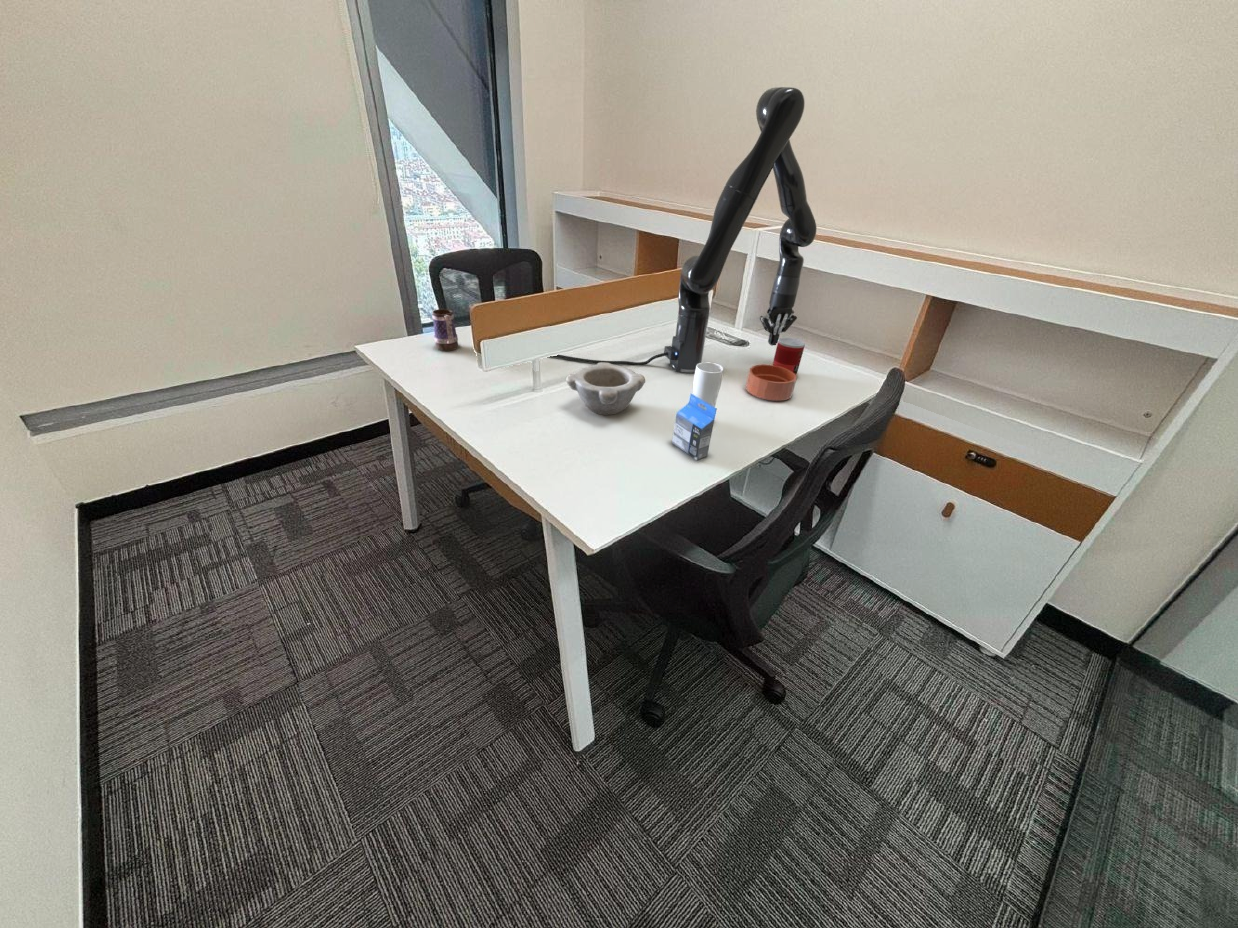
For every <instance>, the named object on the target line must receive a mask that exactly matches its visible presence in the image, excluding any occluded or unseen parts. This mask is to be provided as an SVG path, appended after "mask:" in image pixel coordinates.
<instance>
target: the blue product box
mask: <svg viewBox="0 0 1238 928" xmlns="http://www.w3.org/2000/svg"><path fill="white" fill-rule="evenodd" d="M698 404H700V405H702V404H703V406H704V407H705V408H706V409H707V410H705V409H703V408H701V407H700V406H698ZM717 410H718V408H716V406H715V407H713V406H711V405H710V404H708V403H706V402H705V401H703V400H701V399H700V398H698V397H696V396H694V395H693V393H690V395H689V400H688V403H687V404H686V405H684V406H683V407H682V408H681V409H679V410H678V411H676V413H675V419H674V427H673V435H672V442H671V443H672V445H675V446H676V447H677V448H678V449H680V450H682V451H683V452H684V453H686V454H688V455H689V456H690V457H692V459H694V460H696V461H698V460H701V459H704V458H706V457H708V456H709V450H710V445H711V439H712V436H713V435H712V434H713V428H714V424H715V420H716V414H717Z"/></svg>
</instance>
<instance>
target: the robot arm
mask: <svg viewBox="0 0 1238 928" xmlns="http://www.w3.org/2000/svg"><path fill="white" fill-rule="evenodd" d="M805 106H806V105H805V96H804V94H803V92H802V91H801V90H800V89H798V88H796V87H791V86H775V87H771V88H768V89H767V90H766V91H764V92H763V93H762V94H761V96H760V97H759V99H758V101H757V104H756V109H755V116H756V122H757V125H758V129H759V130H760V133H759V136H758V138H757V140H756V142H755V144H754V146H753V147H752V149H751V150H750V151H749V153H748V154H747V155H746V156H745V158H744V159H743V160H742V161H741V162H740V163H739V165H738V166H737V167H736V168H735V169H734V170H733V172H732V173H731V174H730V176H729V177H728V179H727V181H726V183H725V185H724V186H723V190H722V191H721V193H720V195H719V197H718V199H717V202H716V205H715V208H714V212H713V216H712V220H711V224H710V230H709V234H708V237H707V240H706V242H705V244H704V246H703V248H702V249H701V251H700V253H699V254H696V255H692V256H690V257H688V258H687V259H686V261H684V263H683V264H682V267H681V270H680V277H679V285H678V296H677V297H678V299H677V300H678V301H677V302H678V312H677V321H676V327H675V335H673V336H672V339H671V345H669V346H668V345H666V346H664V348H663V352H661V353H657V354H655V355H653V356H651V357H649V358H648V359H647V360H645V361H639V362H638V361H637V362H635V361H628V360H601V359H600V360H599V359H590V358H589V359H588V358H581V357H575V356H569V355H564V354H558V355H557V356H553V357H552V358H556V359H557V358H559V359H564V360H568V361H576V362H581V363H582V362H583V363H589V364H598V363H601V362H605V363H610V364H613V365H628V366H644V365H648V364H650V363H651V362H653V361H654V360H656V359H658V358H662V357H666V358H667V359H668V360H669V364H668V365H669V367H671V368H672V369H673V370H674V371H675V372H676V373H685V374H695V370H696V365H697V364H699V363H702V362H703V355H704V349H705V343H706V336H707V330H708V325H709V319H710V312H711V305H710V299H709V293H710V292H711V291H712V290H713V289H714V288H715V286H716V285H717V284H718V281H719V280H720V277H721V276H722V272H723V269H724V266H725V264H726V262H727V259H728V256H729V255H730V252H731V251H732V248H733V246H734V245H735V242H736V240H737V239H738V237H739V235H740V233H741V231H742V229H743V227H744V225H745V223H746V221H747V220H748V217H749V216H750V214H751V212H752V210H753V209H754V207H755V204H756V203H757V200H758V199H759V196H760V194H761V192H762V189H763V187H764V186H765V184H766V181H767V180H768V178H769V176H770V174H771V172H772V170H773V175H774V179H775V184H776V190H777V195H778V200H779V206H780V210H781V213H782V214H783V215H784V216H786V217H787V218H788V219H787V220H785V221H784V223H783V224H782V226H781V229H780V232H779V240H778V241H779V242H778V243H779V246H778V247H779V248H778V251H779V253H778V254H779V261H778V264H777V265H778V266H777V269H776V273H775V277H774V280H773V284H772V289H771V292H770V293H771V294H770V298H769V302H768V304H769V307H768V309H767V311H766V313H765V314H764V315H760V316H759V320H760V323H761V325H762V327H763V329H764V331H765V332H767V333H768V334H769V335H768V339H767V342H768V344H769V346H772V347H773V346H777V344H778V341H779V339H780V335H781V334H783V333H786V332H787V331H788V330H789V328H790V327H791V326H792V325H793V324H794V323H795V322H796V320H797V319H798V316H796V315H794V314H793V308H794V306H795V303H796V300H797V296H798V290H799V287H800V280H801V275H802V271H803V266H804V261H805V259H804V256H803V255H802V254H801V253H800V251H799V248H805V247H806V248H807V247H809V246H810V245H812V243H813V242H814V240H815V238H816V236H817V223H816V219H815V216H814V214H813V212H812V209H811V206H810V205H809V203H808V197H807V189H806V182H805V177H804V174H803V171H802V168H801V166H800V163H799V162H798V160H797V157H796V155H795V152H794V150H793V147H792V143H791V140H790V139H791V137H792V136H793V135H794V133H795V131H796V129H797V128H798V126H799V124H800V123H801V120H802V118H803V115H804V111H805Z"/></svg>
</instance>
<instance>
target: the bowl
mask: <svg viewBox="0 0 1238 928" xmlns="http://www.w3.org/2000/svg"><path fill="white" fill-rule="evenodd" d="M797 379H798V375H796V374H795V373H793V372H792V371H790V370H788V369H786V368H783V367H780V366H775V365H773V364H762V363H761V364H756V365H752V366H751V367H749V371H748V375H747V379H746V383H745V389H746V391H747V392H748V393H749V394H751V395H752V396H755V397H757V398H759V399H762V400H767V401H773V402H774V401H775V402H776V401H777V402H778V401H779V402H780V401H786V400H789V399H791V398H792V396H793V394H794V390H795V387H796V383H797Z"/></svg>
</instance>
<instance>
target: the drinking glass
mask: <svg viewBox="0 0 1238 928" xmlns="http://www.w3.org/2000/svg"><path fill="white" fill-rule="evenodd" d="M723 376H724V367H723V366H722V365H721V364H718V363H714V362H710V361H702V363H699V364H697V365H696V370H695V373H694V375H693V383H692V394H693V395H694V396H696V397H698V398H700V399H701V400H703V401H705V402H706V403H708V404H710V405H711V406H713V407H715V408H716V405H717V404H716V403H717V400H718V398H719V397H718V396H719V393H720V390H721V387H722V381H723ZM698 406H700V407H701V408H703V409H705V410H707V409H706V408H705V407H704V406H703V404H702V405H700V404H698Z"/></svg>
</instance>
